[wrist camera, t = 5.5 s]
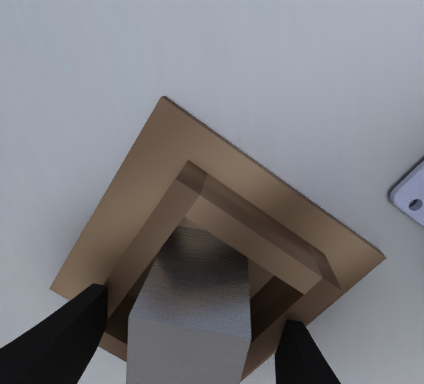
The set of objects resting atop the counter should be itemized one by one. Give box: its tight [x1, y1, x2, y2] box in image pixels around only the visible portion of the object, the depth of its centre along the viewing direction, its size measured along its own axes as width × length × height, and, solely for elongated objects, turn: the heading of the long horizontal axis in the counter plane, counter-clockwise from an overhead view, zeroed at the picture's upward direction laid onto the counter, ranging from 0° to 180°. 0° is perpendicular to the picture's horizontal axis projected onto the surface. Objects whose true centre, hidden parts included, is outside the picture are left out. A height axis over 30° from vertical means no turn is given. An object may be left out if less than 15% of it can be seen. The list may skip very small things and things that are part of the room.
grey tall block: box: [126, 226, 251, 384], centre depth 11 cm, size 4×5×6 cm
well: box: [49, 96, 386, 382], centre depth 13 cm, size 12×12×3 cm
